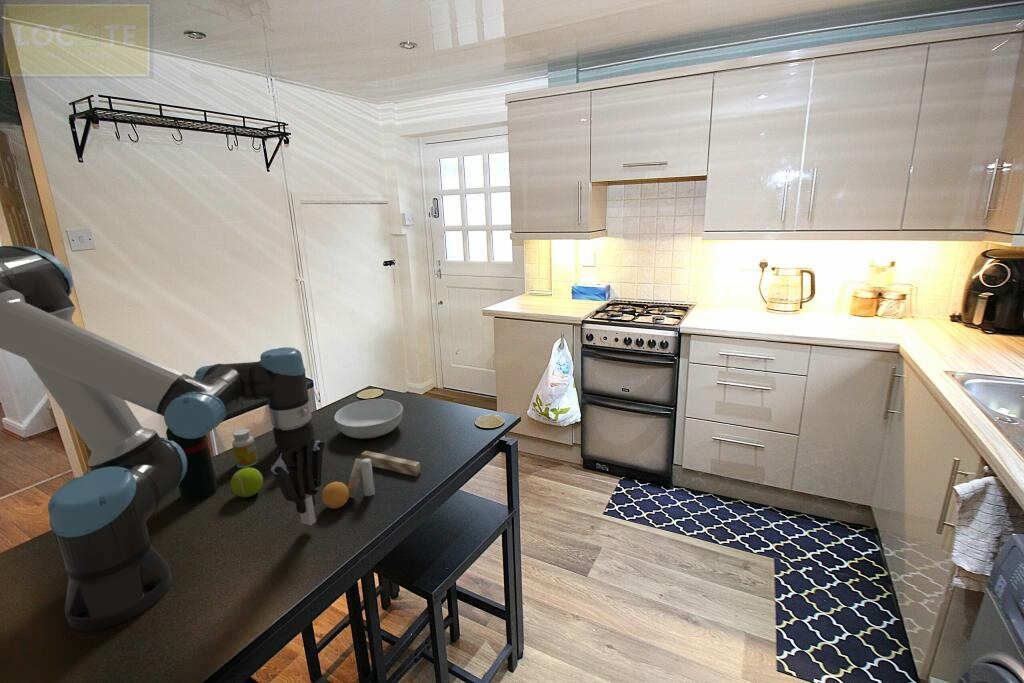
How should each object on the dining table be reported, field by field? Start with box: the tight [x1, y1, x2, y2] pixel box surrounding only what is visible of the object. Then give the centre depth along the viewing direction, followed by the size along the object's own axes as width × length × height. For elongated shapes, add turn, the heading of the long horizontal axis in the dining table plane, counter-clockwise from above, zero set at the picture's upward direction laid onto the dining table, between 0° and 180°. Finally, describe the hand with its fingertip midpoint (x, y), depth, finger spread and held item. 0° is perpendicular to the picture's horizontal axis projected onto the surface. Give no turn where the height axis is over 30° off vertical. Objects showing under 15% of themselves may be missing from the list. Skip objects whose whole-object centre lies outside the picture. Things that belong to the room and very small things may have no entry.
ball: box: [321, 481, 350, 509], centre depth 113 cm, size 6×6×6 cm
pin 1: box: [346, 457, 362, 499], centre depth 118 cm, size 2×2×9 cm
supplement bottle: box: [231, 428, 259, 469], centre depth 134 cm, size 5×5×10 cm
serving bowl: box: [333, 398, 404, 439], centre depth 152 cm, size 21×21×7 cm
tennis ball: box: [230, 467, 264, 498], centre depth 119 cm, size 7×7×7 cm
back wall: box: [360, 450, 421, 477], centre depth 130 cm, size 18×2×3 cm, turn 66°
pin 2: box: [361, 459, 376, 497], centre depth 117 cm, size 2×2×9 cm
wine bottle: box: [165, 427, 219, 504], centre depth 116 cm, size 8×10×30 cm
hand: (308, 522), depth 105 cm, fingers closed
